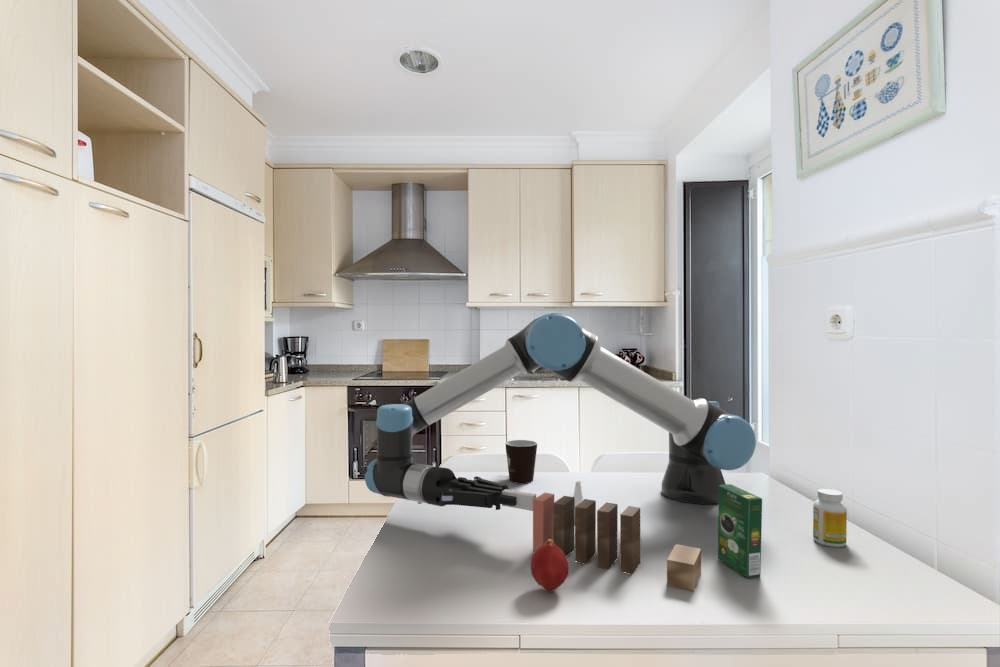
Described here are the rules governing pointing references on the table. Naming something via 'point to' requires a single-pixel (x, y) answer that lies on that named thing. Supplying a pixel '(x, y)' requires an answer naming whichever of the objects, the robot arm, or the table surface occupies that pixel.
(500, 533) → the table surface
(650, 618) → the table surface
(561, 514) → the domino
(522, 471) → the coffee mug
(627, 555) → the domino
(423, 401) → the robot arm
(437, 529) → the table surface
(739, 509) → the coffee box
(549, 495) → the domino
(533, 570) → the onion
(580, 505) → the domino
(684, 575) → the end block
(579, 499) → the garlic bulb
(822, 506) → the supplement bottle
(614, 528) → the domino
